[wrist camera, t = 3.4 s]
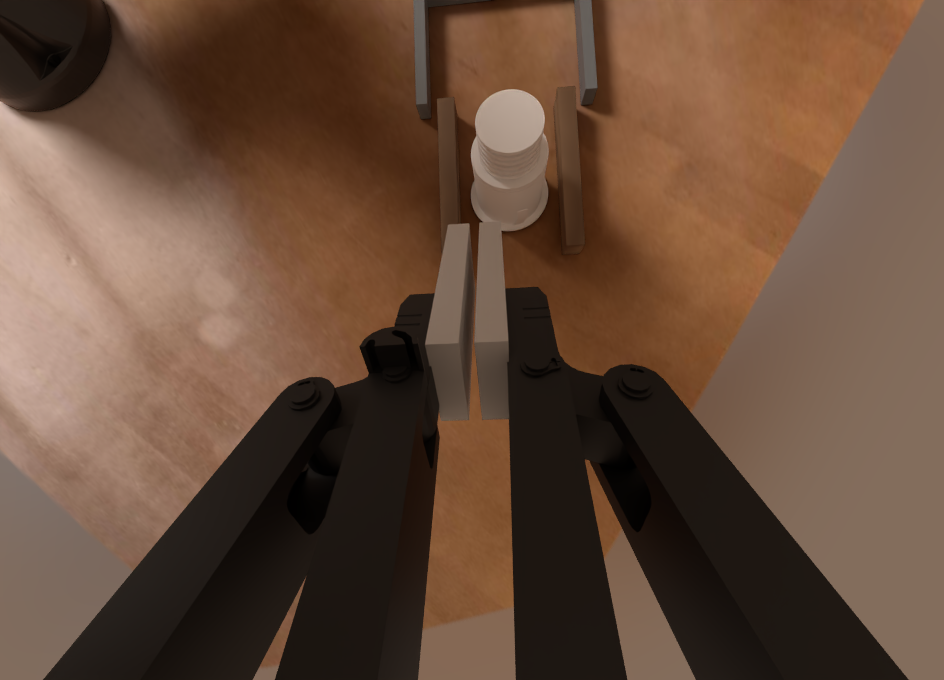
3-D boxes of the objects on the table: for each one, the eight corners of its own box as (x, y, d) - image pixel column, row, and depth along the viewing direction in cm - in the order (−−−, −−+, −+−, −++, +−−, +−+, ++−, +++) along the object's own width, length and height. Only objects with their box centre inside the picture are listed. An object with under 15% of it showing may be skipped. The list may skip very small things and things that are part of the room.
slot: (445, 261, 35) (441, 252, 33) (441, 117, 36) (436, 98, 34) (579, 253, 34) (585, 244, 32) (570, 106, 35) (575, 85, 33)
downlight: (558, 224, 34) (579, 158, 25) (483, 246, 35) (474, 189, 25) (533, 147, 36) (544, 53, 26) (461, 168, 36) (444, 85, 26)
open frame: (420, 119, 36) (416, 104, 34) (417, -1, 38) (413, -22, 36) (591, 104, 35) (597, 87, 33) (583, -20, 36) (588, -43, 34)
